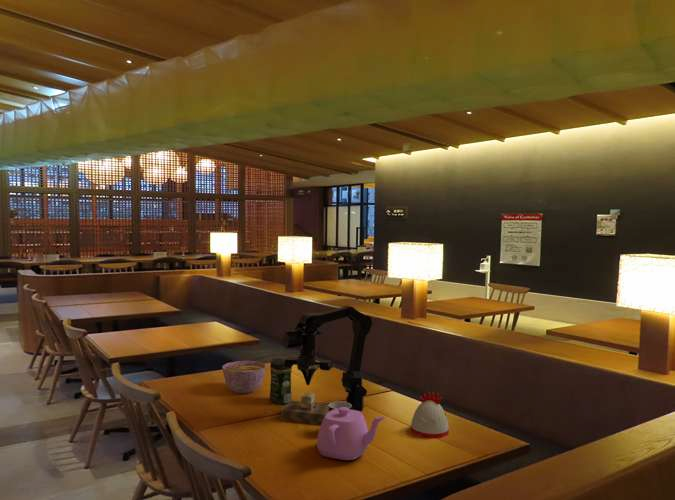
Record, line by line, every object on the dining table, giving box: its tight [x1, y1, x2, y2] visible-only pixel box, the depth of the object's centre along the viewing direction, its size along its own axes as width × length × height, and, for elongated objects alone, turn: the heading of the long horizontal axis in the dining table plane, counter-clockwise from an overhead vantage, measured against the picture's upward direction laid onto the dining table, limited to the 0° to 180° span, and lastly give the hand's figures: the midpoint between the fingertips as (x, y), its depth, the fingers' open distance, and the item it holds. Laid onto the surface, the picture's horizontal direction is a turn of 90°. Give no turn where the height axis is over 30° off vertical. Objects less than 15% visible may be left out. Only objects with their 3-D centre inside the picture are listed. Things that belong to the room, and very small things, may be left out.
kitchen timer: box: [410, 391, 450, 439], centre depth 199 cm, size 14×14×15 cm
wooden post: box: [300, 392, 316, 410], centre depth 211 cm, size 4×4×9 cm
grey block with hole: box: [280, 400, 330, 426], centre depth 211 cm, size 18×12×4 cm, turn 76°
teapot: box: [316, 407, 386, 461], centre depth 176 cm, size 23×21×15 cm
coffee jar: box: [269, 357, 293, 405], centre depth 230 cm, size 10×8×19 cm
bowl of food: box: [221, 360, 267, 395], centre depth 244 cm, size 20×20×12 cm
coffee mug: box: [328, 401, 353, 412], centre depth 197 cm, size 12×9×10 cm
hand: (308, 385), depth 211 cm, fingers closed
